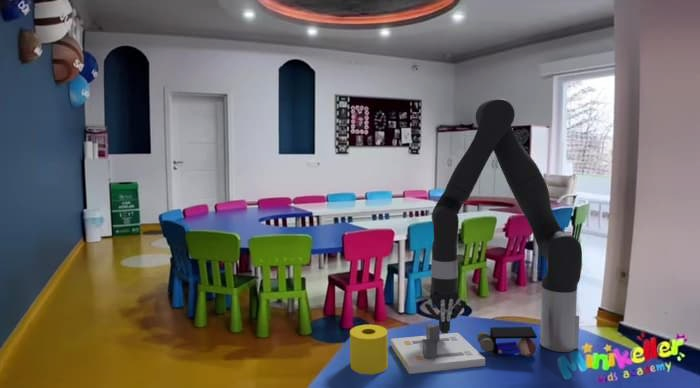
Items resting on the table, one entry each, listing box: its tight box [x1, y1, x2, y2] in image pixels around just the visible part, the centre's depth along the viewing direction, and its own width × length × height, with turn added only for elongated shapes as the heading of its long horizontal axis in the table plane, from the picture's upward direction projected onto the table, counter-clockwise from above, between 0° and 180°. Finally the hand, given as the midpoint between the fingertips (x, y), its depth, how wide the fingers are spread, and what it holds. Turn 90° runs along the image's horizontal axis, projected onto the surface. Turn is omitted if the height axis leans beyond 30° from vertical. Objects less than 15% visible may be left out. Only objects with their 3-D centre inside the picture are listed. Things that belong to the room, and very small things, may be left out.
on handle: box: [422, 339, 438, 358], centre depth 127 cm, size 3×3×4 cm
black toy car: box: [477, 326, 538, 357], centre depth 132 cm, size 7×8×15 cm
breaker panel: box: [390, 332, 486, 375], centre depth 133 cm, size 21×18×2 cm
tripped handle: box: [425, 323, 441, 341], centre depth 138 cm, size 3×3×4 cm
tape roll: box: [349, 324, 389, 375], centre depth 127 cm, size 10×10×9 cm
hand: (444, 332), depth 138 cm, fingers closed
